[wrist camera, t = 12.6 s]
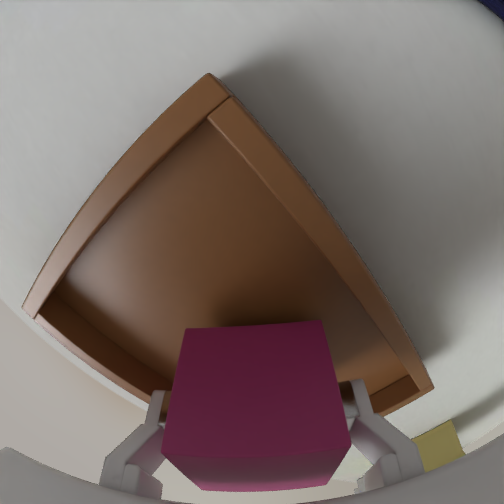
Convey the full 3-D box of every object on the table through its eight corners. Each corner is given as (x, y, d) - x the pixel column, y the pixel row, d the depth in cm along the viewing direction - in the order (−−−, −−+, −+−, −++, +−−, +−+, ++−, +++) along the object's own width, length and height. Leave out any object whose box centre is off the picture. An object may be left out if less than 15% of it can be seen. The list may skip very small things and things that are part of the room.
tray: (42, 280, 11) (20, 308, 9) (218, 78, 7) (208, 71, 5) (270, 433, 18) (271, 458, 16) (422, 362, 14) (435, 388, 12)
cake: (365, 456, 23) (380, 534, 14) (457, 413, 20) (484, 489, 11) (381, 468, 27) (394, 528, 18) (454, 434, 24) (473, 493, 15)
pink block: (184, 327, 10) (158, 452, 6) (321, 318, 10) (352, 445, 6) (209, 397, 13) (201, 490, 8) (312, 391, 13) (326, 485, 8)
